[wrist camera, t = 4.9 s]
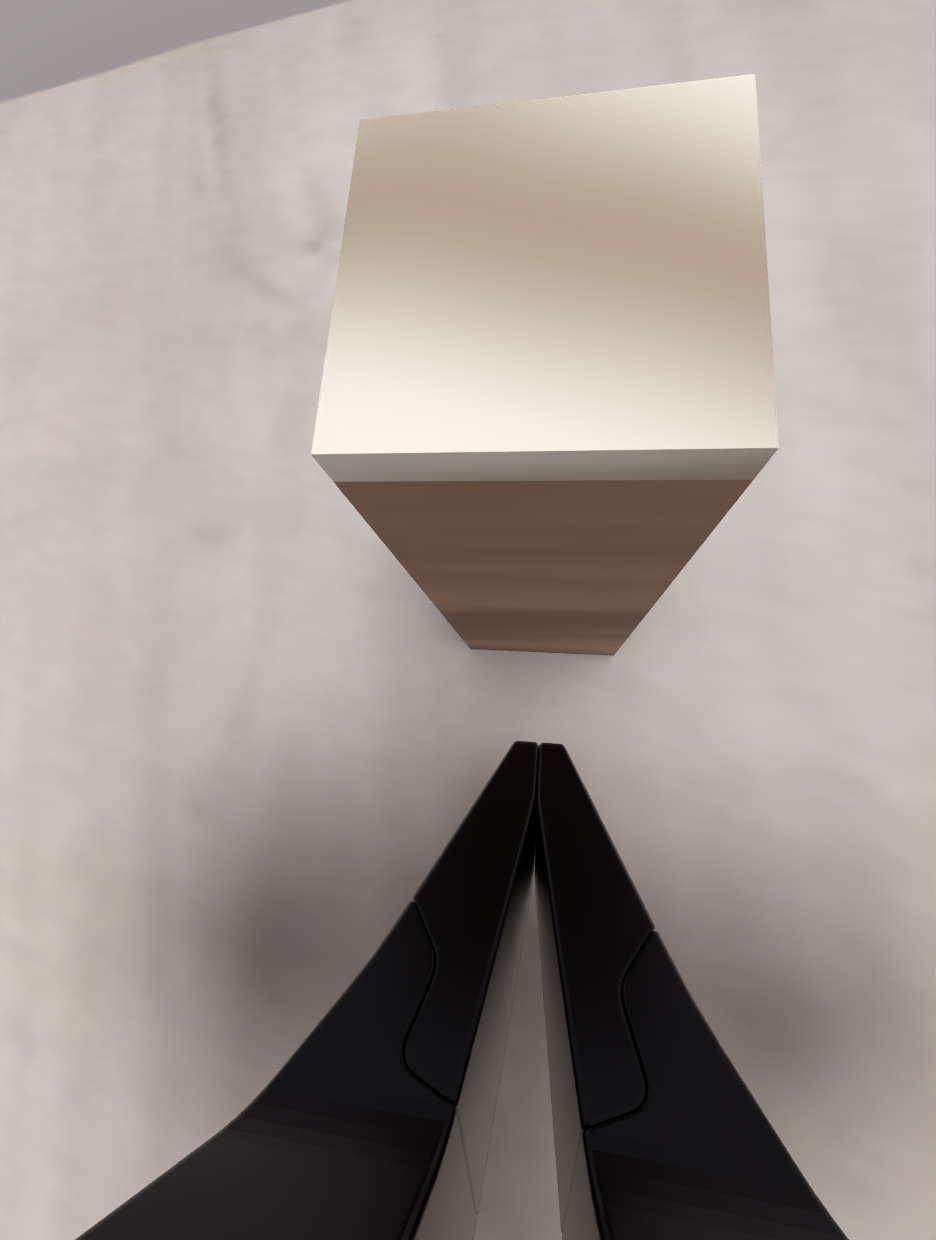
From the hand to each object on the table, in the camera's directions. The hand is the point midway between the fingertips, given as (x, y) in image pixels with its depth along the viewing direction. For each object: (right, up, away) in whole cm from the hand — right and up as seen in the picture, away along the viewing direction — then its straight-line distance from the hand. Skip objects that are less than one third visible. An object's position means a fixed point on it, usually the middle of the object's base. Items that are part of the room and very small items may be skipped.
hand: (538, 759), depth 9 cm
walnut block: (+1, +4, +8) cm, 9 cm away
